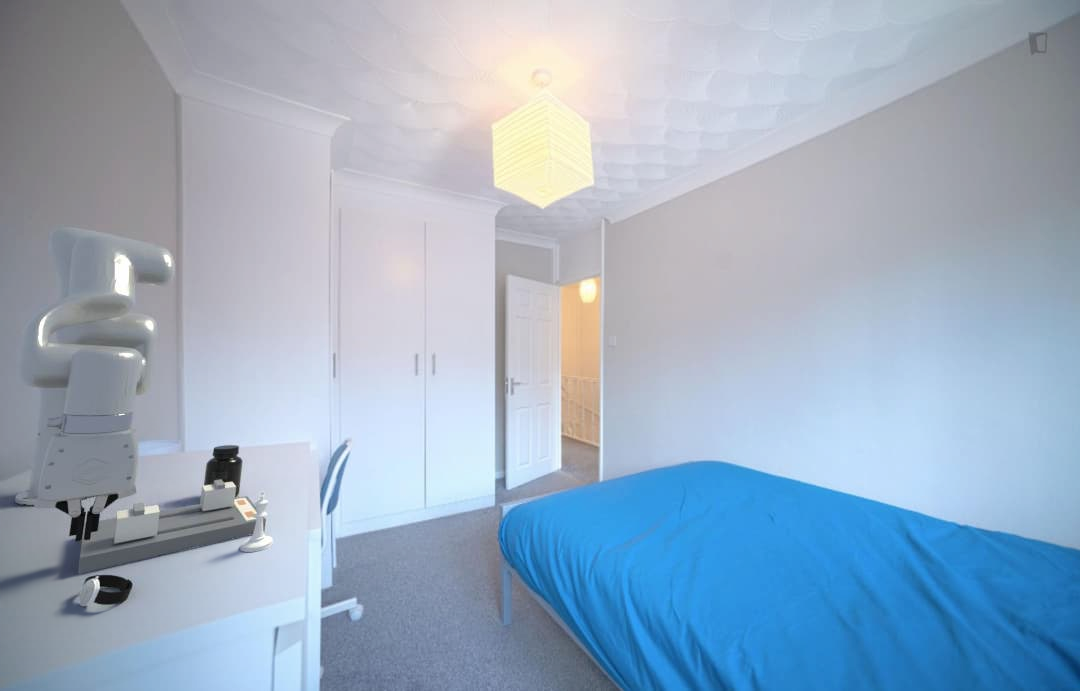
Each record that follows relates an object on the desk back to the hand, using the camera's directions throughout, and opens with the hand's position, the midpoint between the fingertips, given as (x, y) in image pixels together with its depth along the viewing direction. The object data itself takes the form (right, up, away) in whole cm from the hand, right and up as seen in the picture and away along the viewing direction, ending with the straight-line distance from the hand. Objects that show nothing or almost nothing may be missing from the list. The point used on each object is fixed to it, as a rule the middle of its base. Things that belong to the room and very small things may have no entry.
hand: (83, 537), depth 62 cm
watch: (+12, -5, -7) cm, 15 cm away
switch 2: (+6, -3, +19) cm, 20 cm away
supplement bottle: (-3, -6, +30) cm, 31 cm away
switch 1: (+4, -2, +4) cm, 6 cm away
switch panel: (+5, -5, +11) cm, 13 cm away
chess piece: (+21, -7, +10) cm, 24 cm away
